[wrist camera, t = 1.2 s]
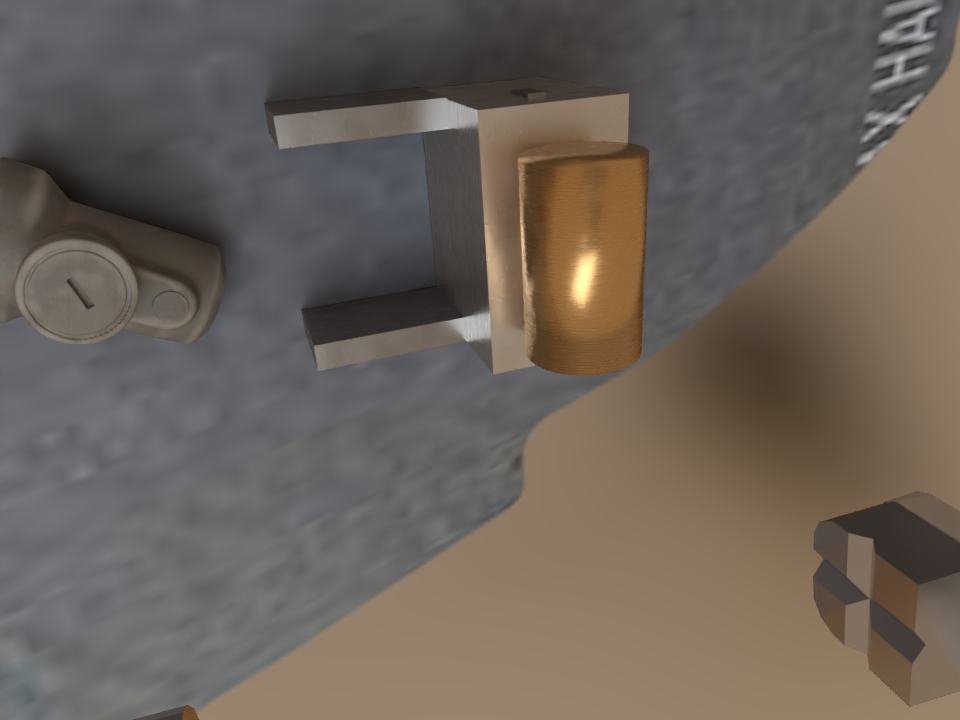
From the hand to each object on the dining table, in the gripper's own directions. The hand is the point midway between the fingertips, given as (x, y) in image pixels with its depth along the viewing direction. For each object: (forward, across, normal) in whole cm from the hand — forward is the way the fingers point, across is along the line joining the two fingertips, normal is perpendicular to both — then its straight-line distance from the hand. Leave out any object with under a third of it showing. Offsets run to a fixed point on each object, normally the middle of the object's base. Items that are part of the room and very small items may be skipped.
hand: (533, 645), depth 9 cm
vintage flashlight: (+39, +13, 0) cm, 41 cm away
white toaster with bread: (+40, -6, 0) cm, 41 cm away
